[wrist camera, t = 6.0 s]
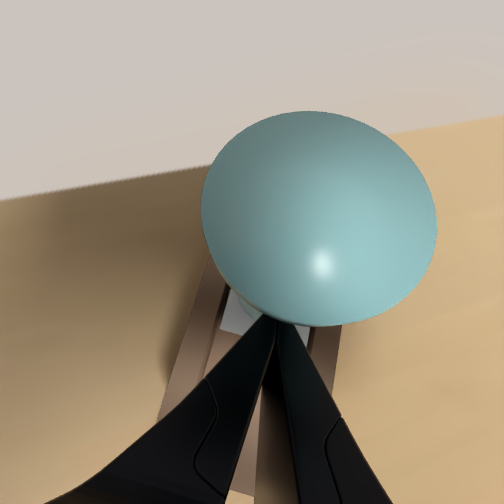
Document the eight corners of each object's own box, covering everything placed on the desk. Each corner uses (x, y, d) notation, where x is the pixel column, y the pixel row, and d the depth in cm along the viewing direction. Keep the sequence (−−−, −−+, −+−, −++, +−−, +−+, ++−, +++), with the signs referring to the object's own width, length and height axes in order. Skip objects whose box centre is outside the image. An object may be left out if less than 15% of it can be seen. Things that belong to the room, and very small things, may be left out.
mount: (302, 504, 13) (354, 659, 7) (151, 459, 13) (68, 563, 7) (343, 242, 17) (399, 186, 11) (228, 214, 18) (218, 145, 11)
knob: (299, 351, 14) (431, 376, 4) (220, 329, 15) (159, 304, 4) (315, 263, 16) (441, 124, 6) (244, 245, 16) (240, 82, 6)
